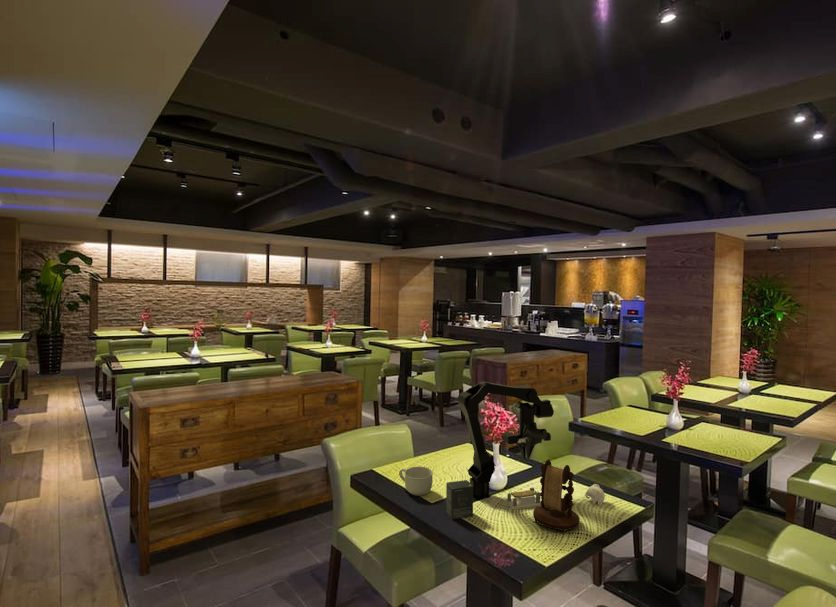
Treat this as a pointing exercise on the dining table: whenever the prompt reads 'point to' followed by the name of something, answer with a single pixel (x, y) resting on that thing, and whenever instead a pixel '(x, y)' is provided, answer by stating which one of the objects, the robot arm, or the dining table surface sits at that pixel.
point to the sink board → (524, 501)
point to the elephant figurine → (595, 494)
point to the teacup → (417, 480)
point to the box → (459, 499)
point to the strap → (523, 493)
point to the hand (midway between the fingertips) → (526, 458)
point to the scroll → (556, 499)
